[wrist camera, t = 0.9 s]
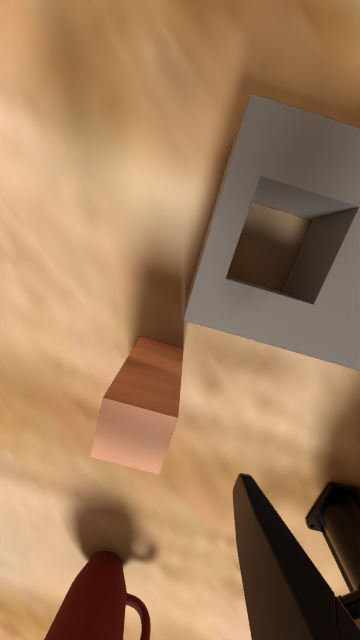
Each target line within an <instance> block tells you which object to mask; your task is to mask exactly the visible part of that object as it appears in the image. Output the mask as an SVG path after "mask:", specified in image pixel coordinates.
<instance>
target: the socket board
mask: <svg viewBox="0 0 360 640" xmlns="http://www.w3.org/2000/svg"><path fill="white" fill-rule="evenodd" d="M251 202H254V203H257V204H260V205H263V206H267V207H270V208H273V209H276V210H280V211H283V212H286V213H289V214H293V215H296V216H299V217H302V218H306V219H309V220H312V221H311V223H310V225H309V228H308V230H307V233H306V235H305V237H304V240H303V242H302V245H301V247H300V249H299V252H298V254H297V257H296V259H295V261H294V264H293V266H292V269H291V271H290V273H289V276H288V278H287V281H286V283H285V285H284V288H283V290H282V292H281V291H277V290H274V289H271V288H267V287H264V286H261V285H257V284H254V283H250V282H247V281H244V280H240V279H237V278H233V277H230V276H227V273H228V270H229V267H230V264H231V261H232V258H233V255H234V252H235V249H236V246H237V243H238V240H239V237H240V234H241V232H242V229H243V226H244V223H245V220H246V217H247V214H248V211H249V208H250V205H251ZM183 320H184V321H188V322H191V323H195V324H198V325H202V326H205V327H209V328H212V329H216V330H219V331H223V332H226V333H230V334H233V335H237V336H240V337H244V338H247V339H251V340H254V341H258V342H261V343H265V344H268V345H272V346H275V347H279V348H282V349H286V350H289V351H293V352H296V353H300V354H303V355H307V356H310V357H314V358H317V359H321V360H324V361H328V362H331V363H335V364H338V365H342V366H345V367H349V368H352V369H356V370H359V371H360V128H357V127H354V126H351V125H348V124H345V123H342V122H339V121H336V120H333V119H330V118H327V117H323V116H320V115H317V114H314V113H311V112H308V111H305V110H302V109H299V108H296V107H293V106H290V105H286V104H283V103H280V102H277V101H274V100H271V99H268V98H265V97H262V96H259V95H256V94H253V93H252V94H251V96H250V99H249V102H248V104H247V107H246V110H245V112H244V115H243V118H242V120H241V123H240V126H239V128H238V131H237V134H236V136H235V139H234V142H233V145H232V148H231V151H230V155H229V158H228V162H227V165H226V168H225V172H224V175H223V178H222V182H221V185H220V188H219V192H218V195H217V199H216V202H215V205H214V209H213V212H212V215H211V219H210V222H209V225H208V229H207V232H206V236H205V239H204V242H203V246H202V249H201V252H200V256H199V259H198V263H197V266H196V269H195V273H194V276H193V279H192V283H191V286H190V289H189V293H188V296H187V300H186V303H185V310H184V319H183Z"/></svg>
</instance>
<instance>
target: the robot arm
mask: <svg viewBox="0 0 360 640" xmlns="http://www.w3.org/2000/svg"><path fill="white" fill-rule="evenodd" d="M233 505H234V518H235V531H236V543H237V551H238V558H239V564H240V570H241V576H242V582H243V588H244V595H245V601H246V607H247V613H248V619H249V625H250V631H251V637H252V640H360V489H356V488H352V487H349V486H345V485H341V484H337V483H331V484H329V486H328V487H327V489H326V490H325V492H324V494H323V495H322V497H321V498H320V500H319V501H318V503H317V505H316V506H315V508H314V509H313V511H312V512H311V514H310V516H309V517H308V519H307V520H306V524H307V526H308V528H309V529H312V530H316V531H320V532H322V533H323V536H324V538H325V540H326V542H327V544H328V546H329V548H330V550H331V552H332V555H333V557H334V559H335V561H336V563H337V565H338V567H339V569H340V572H341V574H342V576H343V578H344V580H345V582H346V584H347V586H348V588H349V591H350V593H348V594H346V595H344V596H340V595H339V596H337V597H336V596H335V594H334V592H333V591H332V589H331V588H330V586H329V585H328V583H327V582H326V581H325V579H324V578H323V576H322V575H321V574H320V572H319V571H318V569H317V568H316V567H315V565H314V564H313V562H312V561H311V559H310V558H309V557H308V555H307V554H306V552H305V551H304V550H303V548H302V547H301V545H300V544H299V543H298V541H297V540H296V538H295V537H294V535H293V534H292V533H291V531H290V530H289V528H288V527H287V526H286V524H285V523H284V521H283V520H282V519H281V517H280V516H279V514H278V513H277V511H276V510H275V509H274V507H273V506H272V504H271V503H270V502H269V500H268V499H267V497H266V496H265V495H264V493H263V492H262V490H261V489H260V487H259V486H258V485H257V483H256V482H255V480H254V479H253V478H252V476H251V475H249V474H243V473H240V474H239V475H238V477H237V480H236V483H235V485H234V488H233Z"/></svg>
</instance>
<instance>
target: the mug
mask: <svg viewBox="0 0 360 640" xmlns="http://www.w3.org/2000/svg"><path fill="white" fill-rule="evenodd" d="M126 605H129V606H131V607H133V608H134V609H135V610H136V611H137V612H138V613H139V615H140V618H141V624H142V632H141V638H140V640H149V639H150V617H149V613H148V610H147V608H146V606H145V604H144V603H143V602H142V601H141V600H140V599H139V598H137V597H136V596H134V595H131V594H128V593H127V591H126V585H125V579H124V573H123V566H122V562H121V560H120V559H119V558H118V557H117V556H116V555H114V554H112V553H109V552H100V553H97V554H95V555H94V556H93V557H92V558H91V559H90V560H89V561H88V563H87V564H86V565H85V566H84V568H83V569H82V570H81V571H80V573H79V574H78V575H77V577H76V578H75V580H74V581H73V583H72V585H71V587H70V589H69V591H68V593H67V595H66V597H65V599H64V601H63V603H62V605H61V607H60V609H59V611H58V613H57V615H56V617H55V619H54V621H53V623H52V625H51V627H50V629H49V631H48V633H47V635H46V637H45V639H44V640H123V632H124V618H125V607H126Z"/></svg>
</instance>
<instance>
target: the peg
mask: <svg viewBox="0 0 360 640" xmlns="http://www.w3.org/2000/svg"><path fill="white" fill-rule="evenodd" d="M182 361H183V348H179V347H176V346H172V345H169V344H165V343H162V342H158V341H155V340H151V339H147V338H144V337H140V338H139V340H138V341H137V343H136V345H135V346H134V348H133V350H132V351H131V353H130V354H129V356H128V358H127V359H126V361H125V363H124V364H123V366H122V367H121V369H120V371H119V372H118V374H117V376H116V377H115V379H114V380H113V382H112V384H111V385H110V387H109V389H108V390H107V392H106V393H105V395H104V397H103V400H102V404H101V409H100V414H99V418H98V423H97V427H96V432H95V437H94V441H93V446H92V451H91V455H90V457H94V458H98V459H102V460H105V461H109V462H113V463H117V464H121V465H124V466H128V467H132V468H136V469H140V470H144V471H147V472H151V473H155V474H159V473H160V470H161V467H162V464H163V461H164V458H165V455H166V452H167V449H168V447H169V444H170V441H171V438H172V435H173V432H174V429H175V426H176V423H177V420H178V413H179V400H180V387H181V374H182Z"/></svg>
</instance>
